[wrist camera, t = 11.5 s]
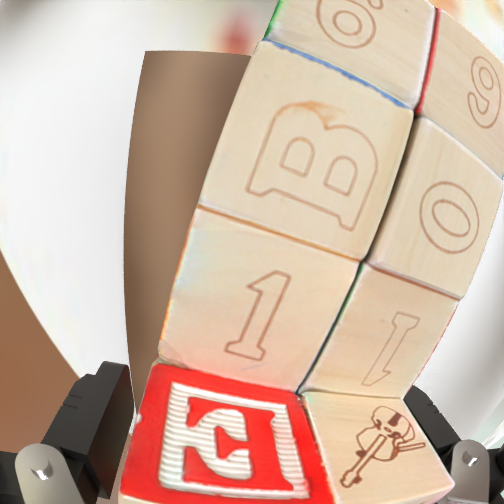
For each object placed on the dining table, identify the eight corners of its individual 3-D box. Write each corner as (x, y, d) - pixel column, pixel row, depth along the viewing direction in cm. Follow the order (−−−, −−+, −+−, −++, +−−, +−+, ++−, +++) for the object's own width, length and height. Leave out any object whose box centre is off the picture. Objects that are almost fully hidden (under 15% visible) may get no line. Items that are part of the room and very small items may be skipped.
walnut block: (348, 103, 18) (384, 86, 13) (292, 404, 24) (304, 447, 19) (164, 78, 16) (145, 51, 11) (152, 396, 22) (141, 439, 18)
